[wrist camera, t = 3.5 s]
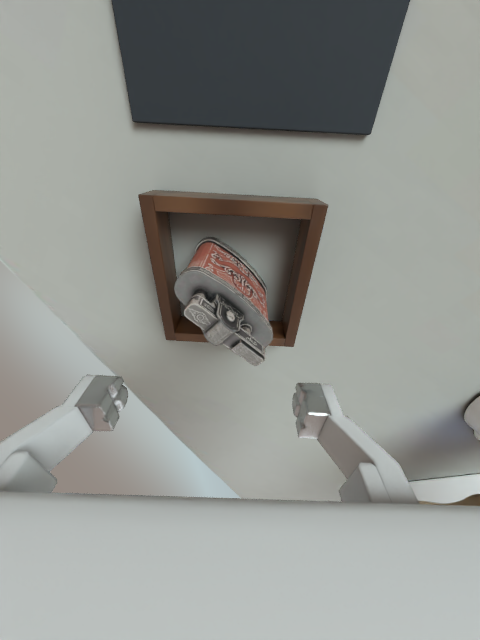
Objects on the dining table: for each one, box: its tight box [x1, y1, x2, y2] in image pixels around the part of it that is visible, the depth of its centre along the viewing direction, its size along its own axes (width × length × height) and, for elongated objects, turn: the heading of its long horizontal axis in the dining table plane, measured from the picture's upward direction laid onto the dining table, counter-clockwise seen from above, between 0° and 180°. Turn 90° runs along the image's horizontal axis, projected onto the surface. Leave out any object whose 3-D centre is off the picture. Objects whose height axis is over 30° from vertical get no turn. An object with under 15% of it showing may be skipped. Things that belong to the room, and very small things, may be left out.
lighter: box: [174, 237, 273, 366], centre depth 17 cm, size 8×3×10 cm, turn 46°
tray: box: [138, 190, 328, 347], centre depth 20 cm, size 13×13×3 cm
